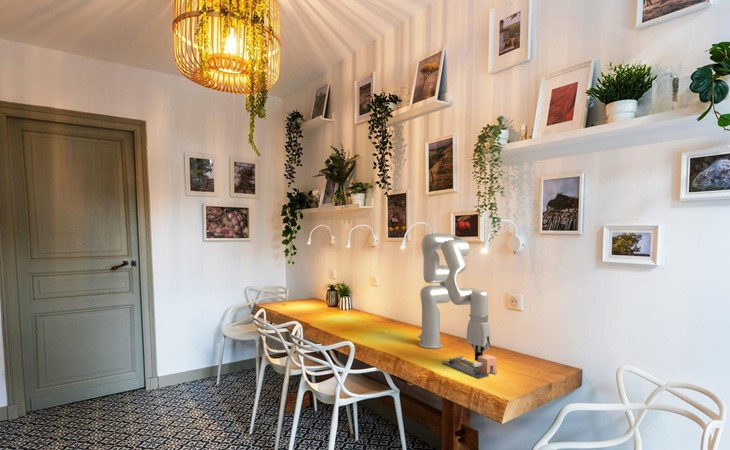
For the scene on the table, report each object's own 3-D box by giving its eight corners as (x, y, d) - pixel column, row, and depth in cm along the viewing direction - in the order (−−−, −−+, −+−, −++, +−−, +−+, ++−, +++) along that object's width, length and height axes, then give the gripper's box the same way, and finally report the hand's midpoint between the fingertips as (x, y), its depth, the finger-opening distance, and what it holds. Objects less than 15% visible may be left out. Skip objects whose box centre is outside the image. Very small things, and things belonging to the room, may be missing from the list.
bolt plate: (442, 363, 172) (442, 361, 172) (452, 361, 175) (452, 359, 175) (478, 378, 154) (478, 376, 154) (488, 376, 157) (488, 374, 158)
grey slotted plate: (446, 362, 173) (446, 358, 174) (460, 359, 178) (460, 355, 178) (482, 377, 156) (482, 372, 156) (497, 374, 160) (497, 368, 160)
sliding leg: (468, 372, 161) (469, 358, 162) (487, 367, 167) (487, 354, 168) (478, 375, 157) (478, 361, 157) (496, 371, 163) (496, 357, 163)
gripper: (460, 316, 173) (460, 357, 172) (486, 322, 160) (486, 366, 159) (472, 314, 177) (471, 354, 176) (498, 321, 164) (498, 364, 163)
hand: (478, 360), depth 168 cm, fingers closed
